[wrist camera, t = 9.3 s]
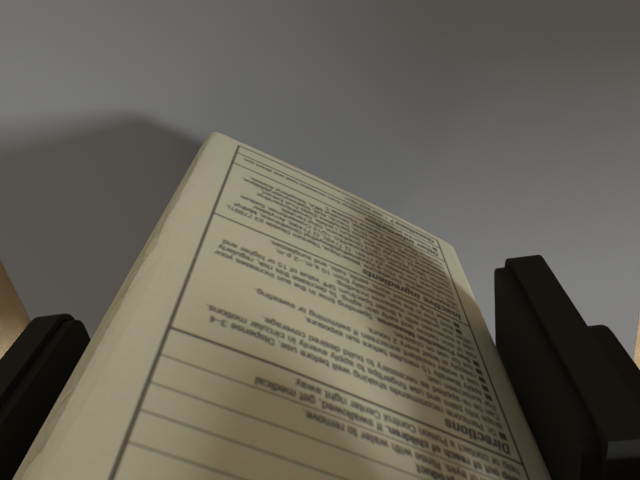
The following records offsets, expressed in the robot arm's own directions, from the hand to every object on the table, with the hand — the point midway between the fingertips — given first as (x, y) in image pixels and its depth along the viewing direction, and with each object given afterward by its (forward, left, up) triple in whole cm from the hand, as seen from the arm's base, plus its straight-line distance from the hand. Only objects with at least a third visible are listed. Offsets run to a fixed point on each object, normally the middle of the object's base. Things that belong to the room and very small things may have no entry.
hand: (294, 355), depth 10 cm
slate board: (0, 0, -7) cm, 7 cm away
